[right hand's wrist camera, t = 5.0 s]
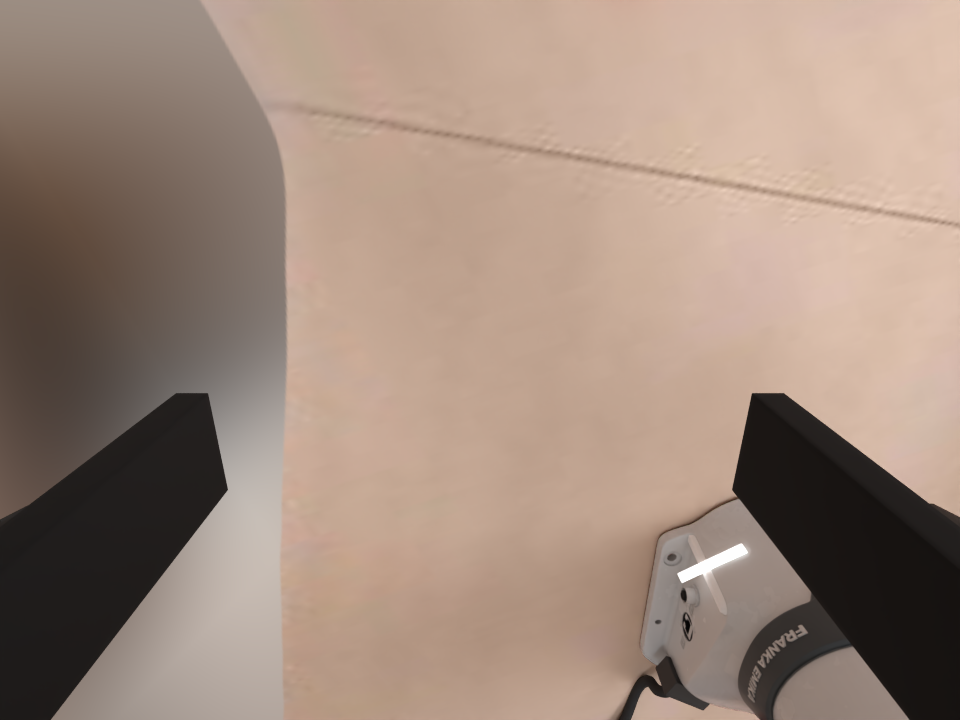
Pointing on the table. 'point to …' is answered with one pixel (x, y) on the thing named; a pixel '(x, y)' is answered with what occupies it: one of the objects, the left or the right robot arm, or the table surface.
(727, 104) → the table surface
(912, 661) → the right robot arm
